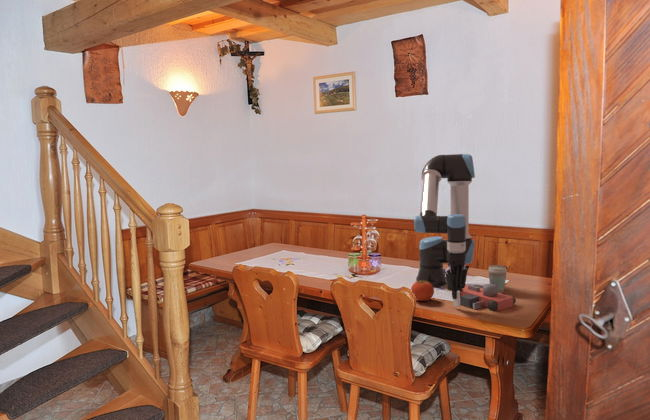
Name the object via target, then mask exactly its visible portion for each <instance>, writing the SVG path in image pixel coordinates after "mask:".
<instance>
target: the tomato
mask: <svg viewBox="0 0 650 420" xmlns="http://www.w3.org/2000/svg"><path fill="white" fill-rule="evenodd" d="M411 290H412V292H413V293H414V294H415V296H416V301H420V302H425V301H426V302H427V301H428V300H430V299H432V298H433V296H434V294H435V287H433V286H432V284H431V283H429V282H427V281H423V279H422V280H421V281H415V282H413V284H412V285H411V288H410V291H411Z"/></svg>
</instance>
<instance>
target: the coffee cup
mask: <svg viewBox="0 0 650 420" xmlns="http://www.w3.org/2000/svg"><path fill="white" fill-rule="evenodd" d="M487 271H488V277H489V279H488V280H489V284H494V285H497V286H498V293H501V294H504V293H505V287H506V281H507V280H506V279H507V273H508V270H507V267H506V266H505V265H499V264H494V265H489V266H488V269H487Z"/></svg>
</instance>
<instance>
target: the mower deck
mask: <svg viewBox="0 0 650 420" xmlns="http://www.w3.org/2000/svg"><path fill="white" fill-rule="evenodd" d="M468 294H472V295H475V296H478V297H479V301H482V300H483V301H484V307H485V308H488V309H489V311H491V312H493V311H497V312H500V311H502V310H505V309H508V308H511V307H514V304H516V302H517V299H516V297H515V296H514V295H513V294H510V295H507V294H504V293H498V286H497V285H494V284H490V283H484V284H483V285H482V287H480V286H478V285H477V284H465V288H463V291H461V296H464V295H468Z"/></svg>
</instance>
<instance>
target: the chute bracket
mask: <svg viewBox="0 0 650 420" xmlns="http://www.w3.org/2000/svg"><path fill="white" fill-rule="evenodd" d="M483 307H484V301H483V300H482V301H479V302H475V303H473V307H472V309H473V310H478V309H481V308H483Z"/></svg>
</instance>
